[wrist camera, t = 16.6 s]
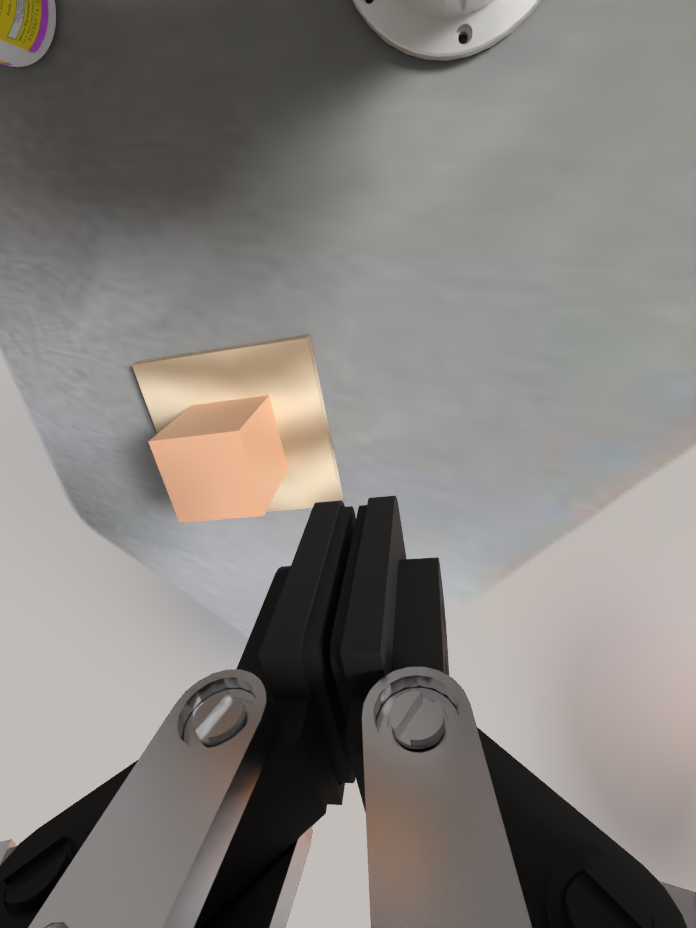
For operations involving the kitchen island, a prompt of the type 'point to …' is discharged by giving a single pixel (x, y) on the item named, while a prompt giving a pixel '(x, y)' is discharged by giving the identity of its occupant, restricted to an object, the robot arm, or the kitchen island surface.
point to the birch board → (251, 375)
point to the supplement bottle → (25, 30)
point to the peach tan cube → (221, 459)
